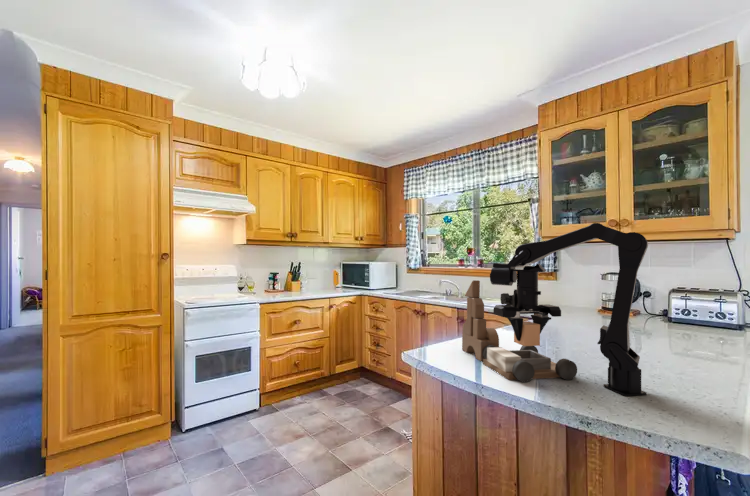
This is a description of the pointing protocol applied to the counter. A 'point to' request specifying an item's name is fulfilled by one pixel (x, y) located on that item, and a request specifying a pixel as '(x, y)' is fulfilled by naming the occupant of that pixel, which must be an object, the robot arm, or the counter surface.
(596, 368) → the counter surface
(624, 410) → the counter surface
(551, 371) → the chassis
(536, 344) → the orange block
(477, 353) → the wooden toy
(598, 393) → the counter surface
